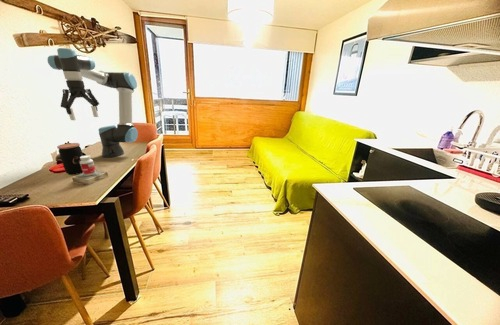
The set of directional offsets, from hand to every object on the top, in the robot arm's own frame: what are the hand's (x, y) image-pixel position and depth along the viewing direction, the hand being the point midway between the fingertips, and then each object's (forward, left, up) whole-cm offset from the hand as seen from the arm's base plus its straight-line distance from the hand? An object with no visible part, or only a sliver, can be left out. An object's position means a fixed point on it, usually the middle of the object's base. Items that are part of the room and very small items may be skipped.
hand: (85, 118), depth 120 cm
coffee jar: (+5, -13, -35) cm, 37 cm away
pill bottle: (+11, +7, -31) cm, 34 cm away
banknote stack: (+11, +7, -34) cm, 37 cm away
